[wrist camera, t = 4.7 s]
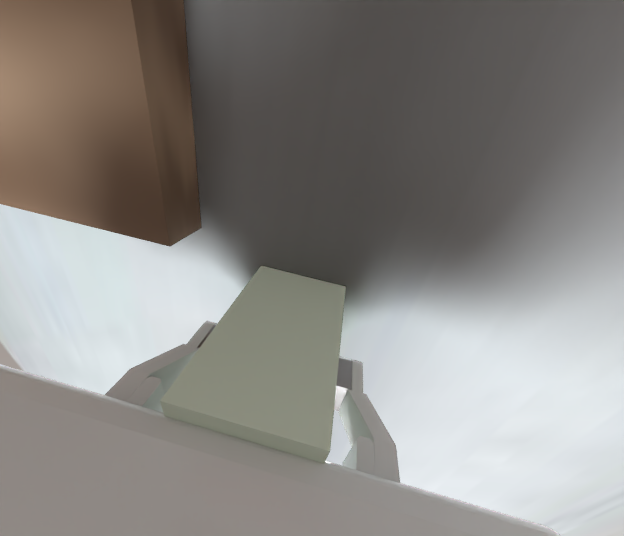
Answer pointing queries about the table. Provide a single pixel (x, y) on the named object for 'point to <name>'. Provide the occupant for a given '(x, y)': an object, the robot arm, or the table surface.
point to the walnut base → (99, 115)
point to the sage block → (268, 366)
